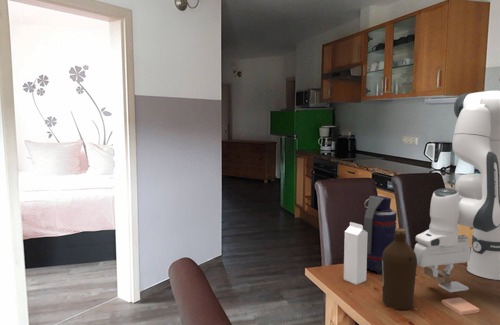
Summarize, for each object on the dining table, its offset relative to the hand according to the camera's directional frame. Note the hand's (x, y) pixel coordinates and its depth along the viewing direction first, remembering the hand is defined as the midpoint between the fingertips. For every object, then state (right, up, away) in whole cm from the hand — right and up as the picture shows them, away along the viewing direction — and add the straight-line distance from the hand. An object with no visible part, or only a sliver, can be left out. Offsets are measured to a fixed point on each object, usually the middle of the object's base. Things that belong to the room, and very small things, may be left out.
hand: (441, 276), depth 129 cm
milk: (-26, -6, +14) cm, 30 cm away
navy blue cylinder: (-14, -5, +24) cm, 28 cm away
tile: (+1, -7, -4) cm, 8 cm away
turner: (0, -2, -1) cm, 2 cm away
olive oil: (-17, -8, -4) cm, 19 cm away
